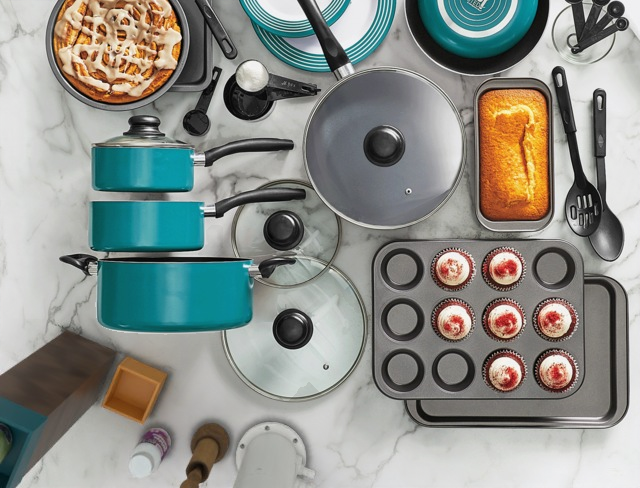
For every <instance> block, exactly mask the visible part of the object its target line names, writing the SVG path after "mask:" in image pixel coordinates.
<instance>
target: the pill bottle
mask: <svg viewBox="0 0 640 488" xmlns="http://www.w3.org/2000/svg"><path fill="white" fill-rule="evenodd" d="M171 444H172V440H171V436H170V434H169V433H168V432H167V431H166V430H165V429H164V428H162V427H152V428H149V429H148V430H147V431H145V432H144V434H142V436H141V438H140V439H139V440H138V442H137V443H136V444H135V446H134V447H133V448H132V450H131V452H130V455H129V462H128V467H127V468H128V471H129V473H130V475H131V476H132V477H134V478H135V479H139V480H140V479H145V478H147V477H148V476H149V475H151V474H153V473H155V472H156V471H157V470H158V469H159V468H160V466H161V464H162V462H163V461H164V459H165V458H166V456H167V455H168V452H169V451H170V449H171Z"/></svg>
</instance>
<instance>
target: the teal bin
mask: <svg viewBox="0 0 640 488" xmlns="http://www.w3.org/2000/svg"><path fill="white" fill-rule="evenodd" d="M47 420H48V417H46V416H43V415H41V414H39V413H37V412H34V411H32V410H30V409H28V408H25V407H23V406H21V405H19V404H16V403H14V402H12V401H9V400H7V399H5V398H3V397H0V422H2V423H4V424H5V425H6V426H7V427H8V428H9V429H10V431H11V434H12V438H13V443H12V447H11V450H10V452H9V453H8V455H7V456H6V457H5V458H4V460H3V461H2V462H1V463H0V488H17V487H18V486H19V485H20V484H21V482H22V481H23V479H24V477H25V476H24V474H25V471H26V469H27V467H28V464H29V462H30V460H31V457H32V455H33V453H34V450H35V448H36V446H37V443H38V441H39V439H40V436H41V434H42V432H43V429H44V427H45V425H46V422H47ZM23 476H24V477H23Z"/></svg>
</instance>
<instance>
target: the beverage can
mask: <svg viewBox="0 0 640 488" xmlns="http://www.w3.org/2000/svg"><path fill="white" fill-rule="evenodd" d="M12 443H13V438H12V434H11V431H10V429H9V428H8V427H7V426H6V425H5V424H4V423H2V422H0V463H1V462H2V461H3V460H4V458H5V457H6V456H7V455H8V453H9V452H10V450H11V447H12Z"/></svg>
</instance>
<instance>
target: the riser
mask: <svg viewBox="0 0 640 488" xmlns="http://www.w3.org/2000/svg"><path fill="white" fill-rule="evenodd" d="M117 353H118V351H116V350H113V349H111V348H110V347H107V346H105V345H102V344H100V343H98V342H95V341H94V340H91V339H89V338H86V337H85V336H82V335H79V334H78V333H75V332H73V331H70V330H68V329H66V330H64V331H63V332H61V333H60V334H58V335H57V336H55V337H53V339H51V340H49V341H48V342H46V343H45V344H44V345H41V347H39V348H38V349H36V350H35V351H34V352H32V353H30V354H28V356H26V357H25V358H23V359H22V360H20V361H19V362H17V363H16V364H15V365H13V366H12V367H10V368H9V369H7V370H6V371H4V372H3V373H2V374H0V397H3V398H5V399H7V400H9V401H12V402H14V403H16V404H19V405H21V406H23V407H25V408H28V409H30V410H32V411H34V412H37V413H39V414H41V415H43V416H46V417H48V420H47V422H46V425H45V427H44V429H43V432H42V434H41V436H40V439H39V441H38V443H37V446H36V448H35V450H34V453H33V455H32V457H31V460H30V462H29V464H28V467H27V469H26V471H25V474H24V476H23V478H24V477H25V476H26V475H27V474H28V473H29V472H30V471H31V470H32V469H33V468H34V467H35V466H36V464H38V462H40V461H41V460H42V458H43V457H44V456H45V455H46V454H47V453H48V452H49V451H50V450H52V448H53V447H54V446H56V444H57V443H58V442H59V441H60V440H61V439H62V438H63V437H64V436H65V435H66V433H67V432H68V431H70V429H71V428H72V427H73V426H74V425H75V424H76V423H77V422H78V421H79V420H80V419H81V418H82V417H83V416H84V415H85V414H86V413H87V411H88V410H90V408H91V407H92V406H93V405H94V404H95V403H97V400H98V397H99V395H100V393H101V391H102V388H103V386H104V383H105V382H106V379H107V377H108V373H110V372H109V371H110V369H111V367H112V365H113V363H114V360H115V357H116V355H117Z"/></svg>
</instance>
